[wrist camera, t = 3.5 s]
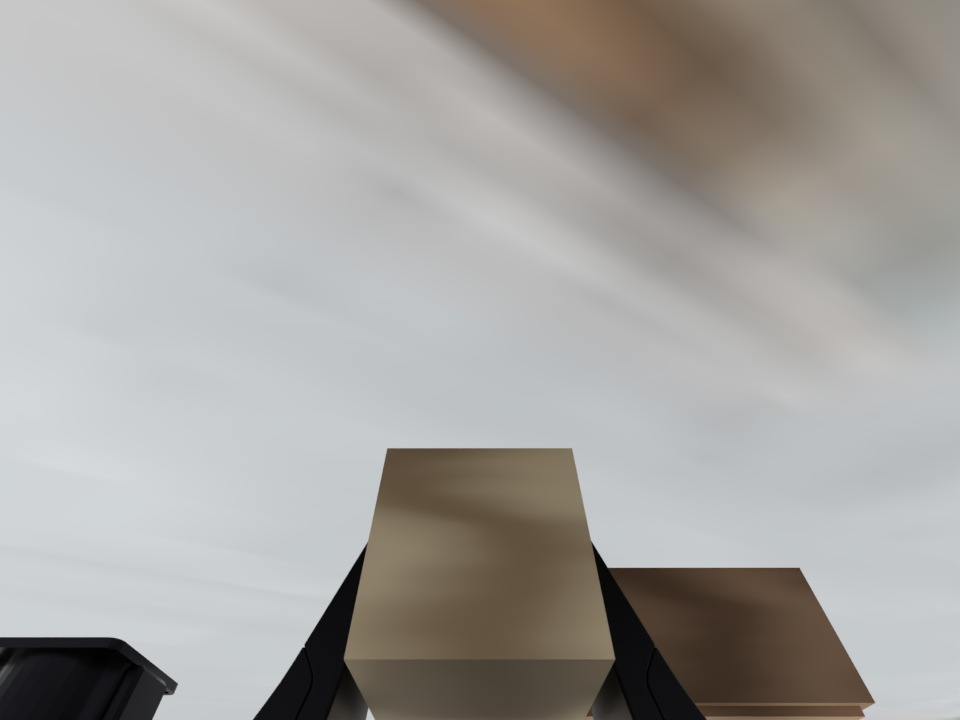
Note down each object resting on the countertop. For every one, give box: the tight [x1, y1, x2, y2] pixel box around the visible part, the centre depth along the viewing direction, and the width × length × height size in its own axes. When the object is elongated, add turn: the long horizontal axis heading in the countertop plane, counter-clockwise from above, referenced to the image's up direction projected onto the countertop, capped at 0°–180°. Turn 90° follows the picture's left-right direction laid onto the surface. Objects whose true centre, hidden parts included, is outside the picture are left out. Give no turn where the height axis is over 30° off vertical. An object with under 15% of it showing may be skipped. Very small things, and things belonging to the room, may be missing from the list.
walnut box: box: [585, 568, 875, 720], centre depth 18 cm, size 9×12×4 cm
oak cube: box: [344, 448, 615, 720], centre depth 12 cm, size 5×5×5 cm
